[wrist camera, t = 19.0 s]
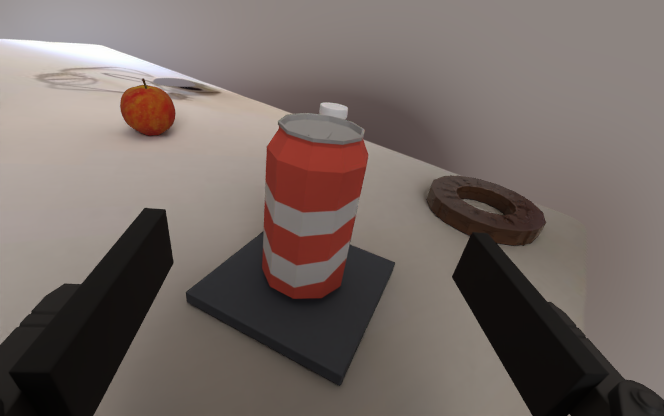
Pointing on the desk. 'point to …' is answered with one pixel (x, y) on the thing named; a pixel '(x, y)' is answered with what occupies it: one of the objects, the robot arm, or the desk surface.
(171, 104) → the fruit
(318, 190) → the beverage can
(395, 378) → the desk surface
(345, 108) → the supplement bottle
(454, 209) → the socket
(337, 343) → the mat
